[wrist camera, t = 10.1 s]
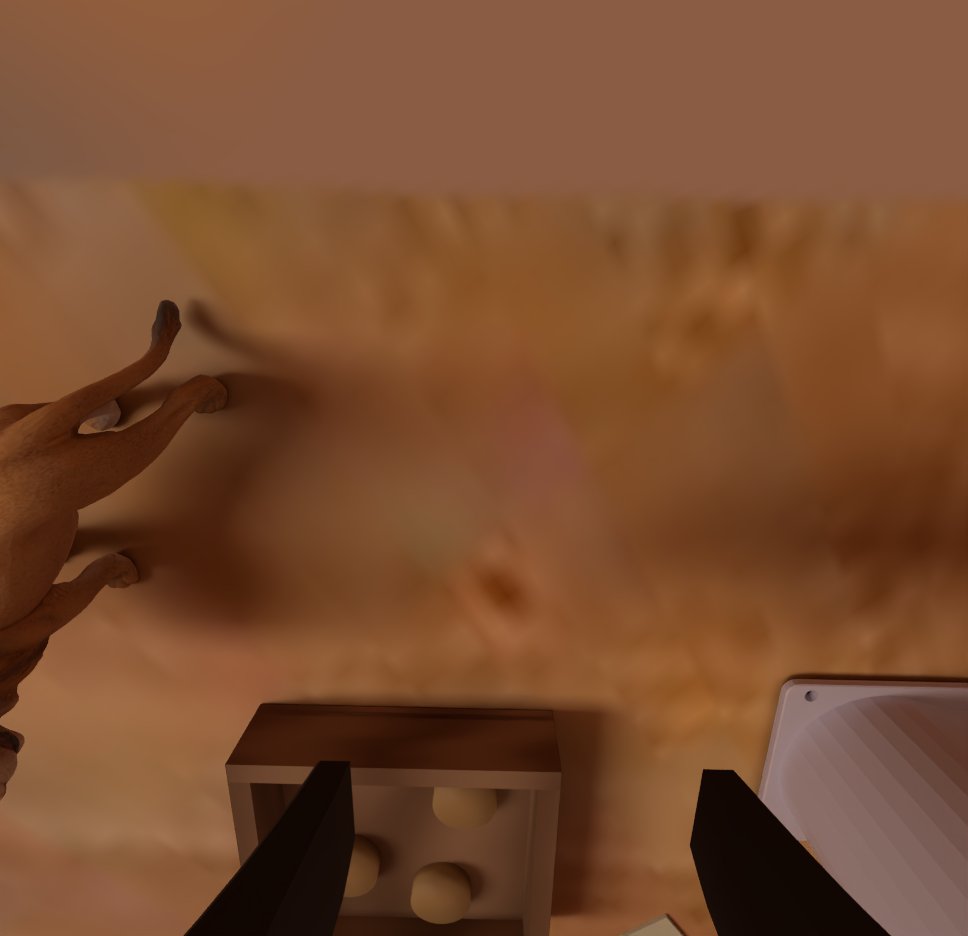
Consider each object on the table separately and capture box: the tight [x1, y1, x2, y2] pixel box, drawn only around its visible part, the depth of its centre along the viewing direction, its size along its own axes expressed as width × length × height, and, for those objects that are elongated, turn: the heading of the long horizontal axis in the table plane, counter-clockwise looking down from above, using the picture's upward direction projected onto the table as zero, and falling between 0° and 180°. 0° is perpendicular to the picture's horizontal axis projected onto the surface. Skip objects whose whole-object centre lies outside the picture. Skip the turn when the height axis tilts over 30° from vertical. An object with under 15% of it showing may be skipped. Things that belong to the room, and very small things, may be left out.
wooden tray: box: [225, 704, 562, 936], centre depth 22 cm, size 12×12×3 cm
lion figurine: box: [0, 300, 227, 800], centre depth 14 cm, size 15×5×9 cm, turn 155°
